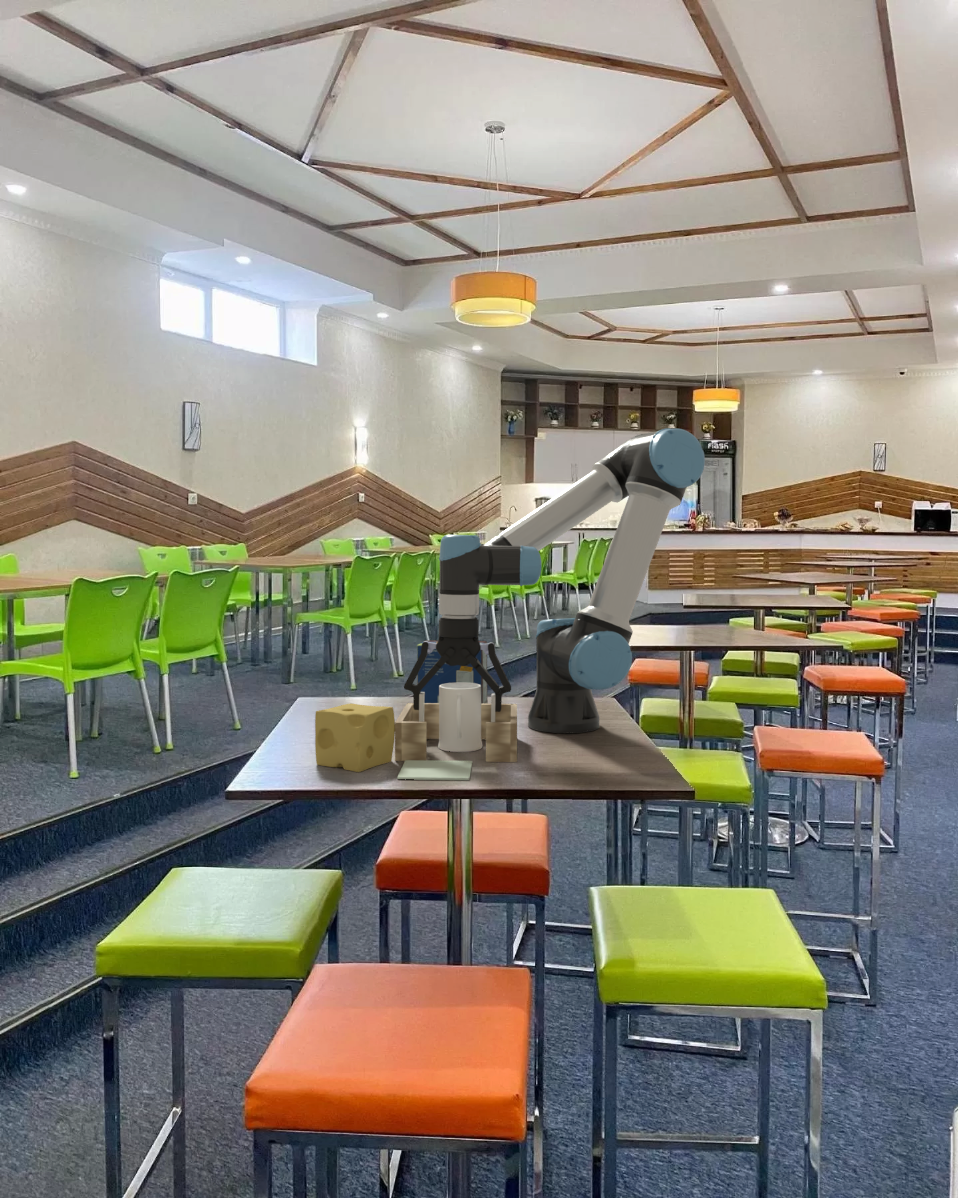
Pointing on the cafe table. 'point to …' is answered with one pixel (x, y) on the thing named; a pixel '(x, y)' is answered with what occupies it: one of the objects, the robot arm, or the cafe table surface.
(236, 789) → the cafe table surface
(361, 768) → the cheese
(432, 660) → the protein box
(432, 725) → the frame
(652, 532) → the robot arm
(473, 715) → the mug
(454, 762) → the mat
